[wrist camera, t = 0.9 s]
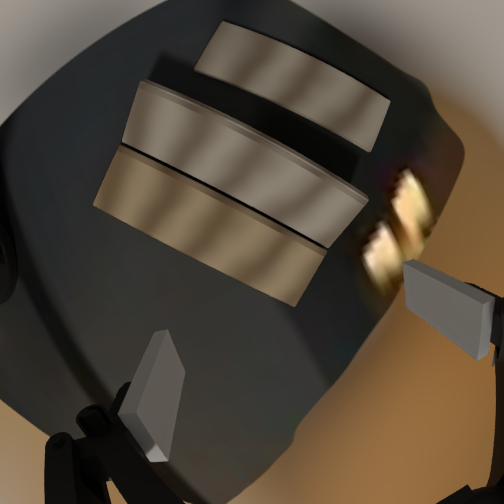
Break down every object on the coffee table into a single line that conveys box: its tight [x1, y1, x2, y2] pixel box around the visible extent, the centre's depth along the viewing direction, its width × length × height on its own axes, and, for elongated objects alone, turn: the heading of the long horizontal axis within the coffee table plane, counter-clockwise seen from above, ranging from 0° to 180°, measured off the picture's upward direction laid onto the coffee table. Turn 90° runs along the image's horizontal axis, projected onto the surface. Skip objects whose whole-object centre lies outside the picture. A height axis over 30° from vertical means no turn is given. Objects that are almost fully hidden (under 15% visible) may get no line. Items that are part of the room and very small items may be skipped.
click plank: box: [122, 79, 369, 248], centre depth 32 cm, size 28×8×1 cm, turn 62°
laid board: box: [93, 145, 327, 307], centre depth 35 cm, size 28×8×1 cm, turn 62°
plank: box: [194, 21, 390, 152], centre depth 33 cm, size 24×8×1 cm, turn 66°
